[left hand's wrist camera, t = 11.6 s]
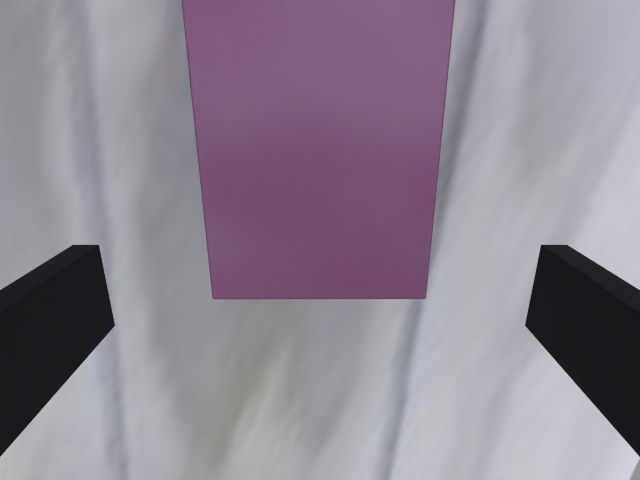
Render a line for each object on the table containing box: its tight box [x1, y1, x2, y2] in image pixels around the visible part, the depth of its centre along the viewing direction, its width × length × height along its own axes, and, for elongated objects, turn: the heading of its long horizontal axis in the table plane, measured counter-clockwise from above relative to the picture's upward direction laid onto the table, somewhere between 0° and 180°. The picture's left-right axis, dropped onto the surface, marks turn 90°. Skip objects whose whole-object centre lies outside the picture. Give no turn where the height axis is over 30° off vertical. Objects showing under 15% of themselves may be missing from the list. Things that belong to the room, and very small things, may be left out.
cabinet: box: [182, 0, 455, 299], centre depth 22 cm, size 21×11×11 cm, turn 0°
